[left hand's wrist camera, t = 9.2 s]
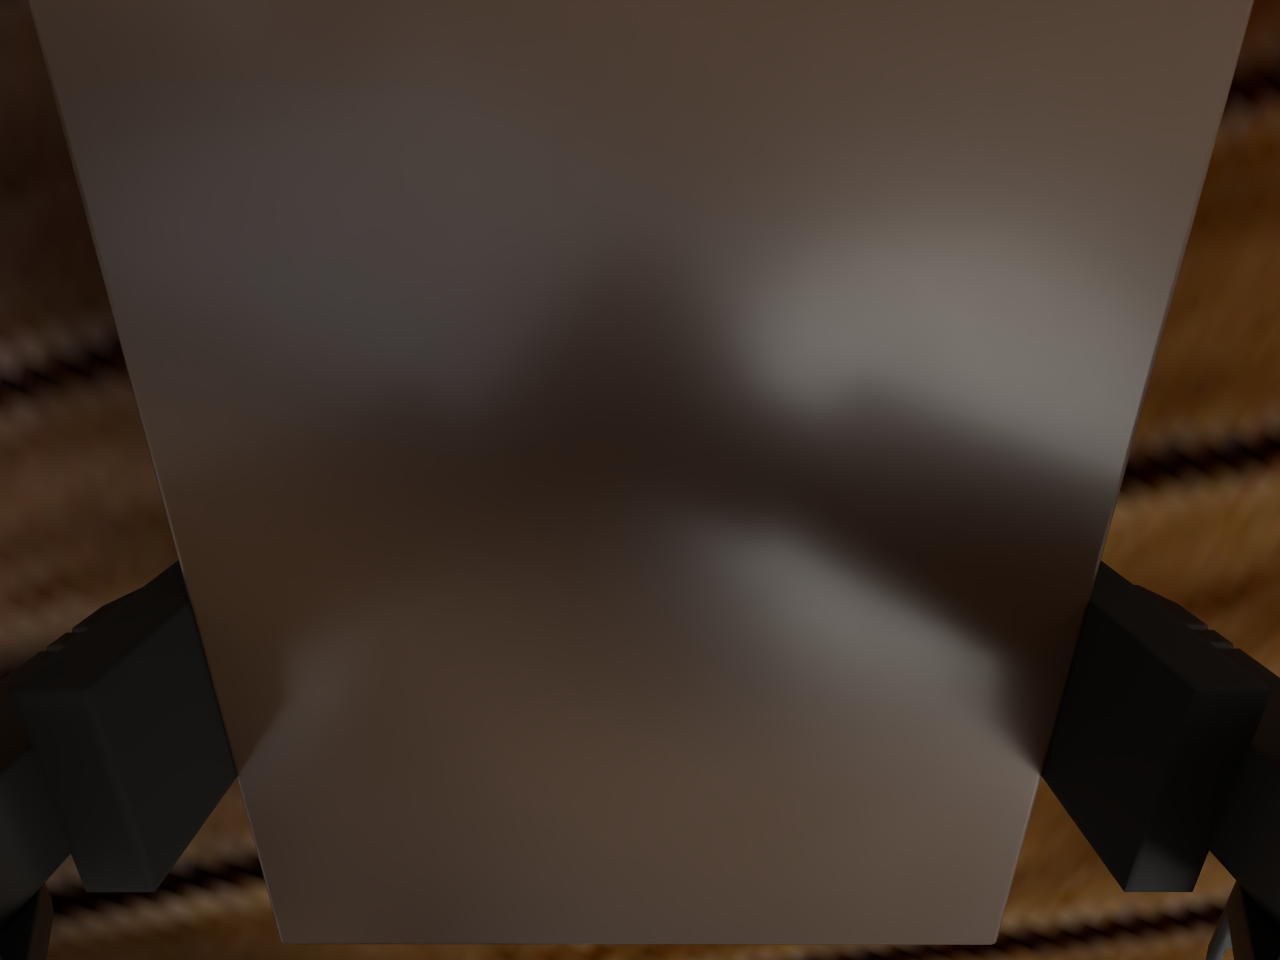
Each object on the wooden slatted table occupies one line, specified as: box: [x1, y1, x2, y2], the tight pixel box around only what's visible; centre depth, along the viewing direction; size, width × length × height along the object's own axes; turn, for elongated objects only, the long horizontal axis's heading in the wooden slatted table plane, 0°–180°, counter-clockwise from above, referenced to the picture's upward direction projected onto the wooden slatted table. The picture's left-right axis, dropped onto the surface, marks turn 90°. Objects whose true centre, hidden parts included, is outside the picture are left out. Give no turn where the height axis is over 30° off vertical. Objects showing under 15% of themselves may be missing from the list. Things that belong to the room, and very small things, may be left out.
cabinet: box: [28, 0, 1254, 945], centre depth 12 cm, size 18×11×10 cm, turn 0°
